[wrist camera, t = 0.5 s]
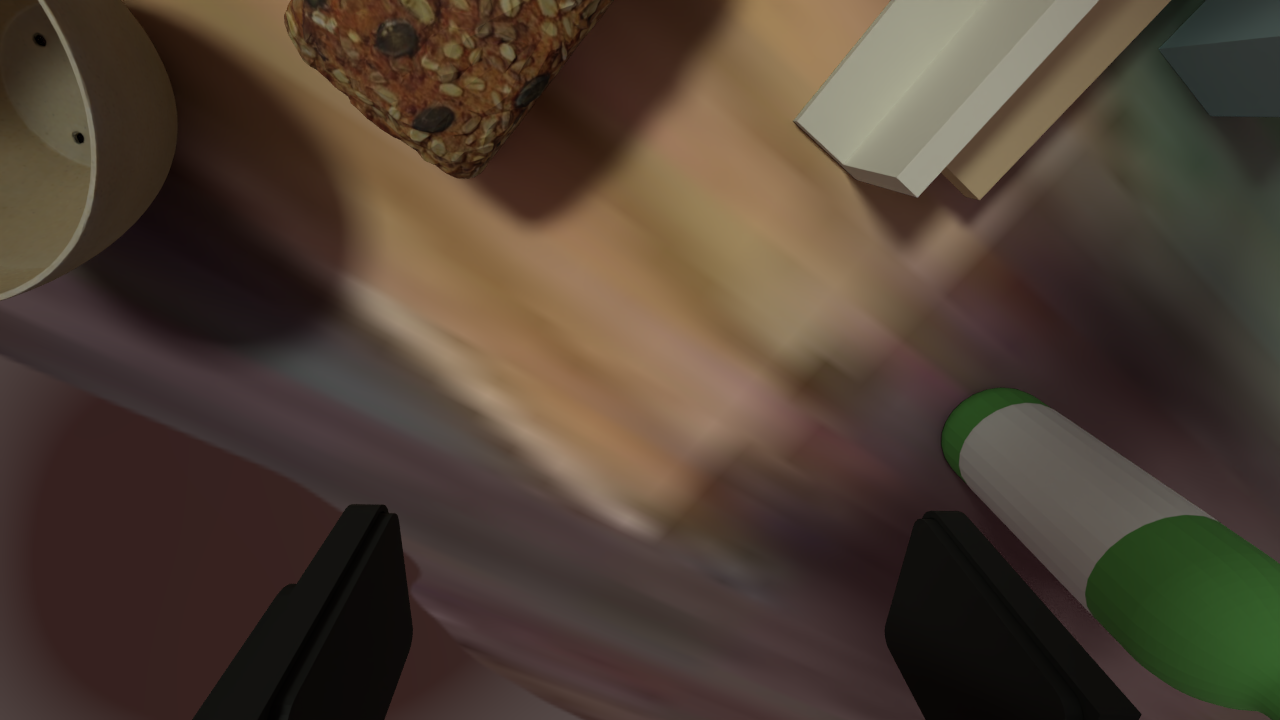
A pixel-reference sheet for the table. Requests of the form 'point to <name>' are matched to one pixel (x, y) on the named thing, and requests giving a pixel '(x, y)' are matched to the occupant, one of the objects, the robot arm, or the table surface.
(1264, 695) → the wine bottle
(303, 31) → the bread
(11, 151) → the flower pot
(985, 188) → the wall shelf
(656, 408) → the table surface
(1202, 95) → the cabinet block
